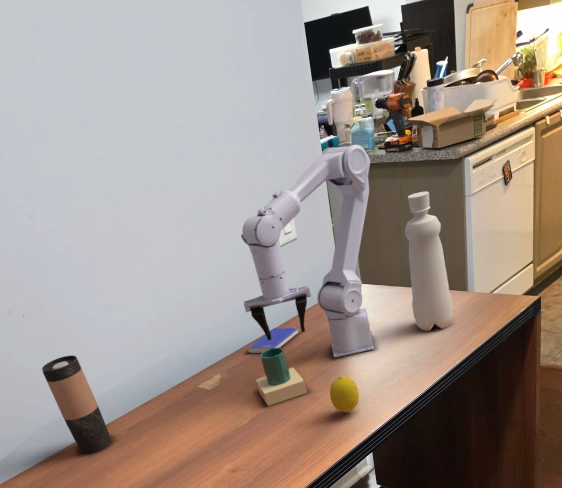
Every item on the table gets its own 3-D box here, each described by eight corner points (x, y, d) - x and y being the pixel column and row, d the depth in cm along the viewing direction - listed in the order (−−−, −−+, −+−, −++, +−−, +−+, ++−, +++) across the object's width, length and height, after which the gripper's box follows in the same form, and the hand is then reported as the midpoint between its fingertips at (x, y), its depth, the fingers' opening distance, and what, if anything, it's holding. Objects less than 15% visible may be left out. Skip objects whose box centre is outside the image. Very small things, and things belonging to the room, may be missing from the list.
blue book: (272, 347, 165) (297, 327, 173) (247, 347, 170) (272, 328, 178) (273, 353, 166) (298, 333, 174) (248, 352, 171) (274, 333, 179)
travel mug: (118, 435, 146) (84, 353, 136) (100, 454, 140) (62, 369, 130) (91, 437, 149) (55, 356, 139) (72, 455, 143) (33, 372, 133)
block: (296, 379, 149) (293, 367, 147) (306, 393, 141) (303, 380, 139) (258, 391, 148) (255, 379, 146) (267, 406, 140) (264, 393, 139)
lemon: (365, 405, 129) (358, 369, 125) (356, 419, 125) (349, 382, 121) (340, 406, 132) (332, 370, 128) (330, 419, 128) (322, 383, 124)
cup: (290, 372, 145) (283, 345, 142) (290, 382, 140) (283, 354, 137) (268, 377, 145) (260, 351, 142) (267, 387, 141) (259, 360, 138)
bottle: (414, 321, 161) (397, 195, 146) (452, 314, 159) (438, 186, 144) (416, 335, 154) (397, 203, 139) (455, 328, 151) (441, 193, 136)
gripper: (237, 288, 135) (254, 348, 142) (305, 271, 134) (319, 333, 140) (239, 279, 141) (255, 337, 148) (304, 262, 140) (317, 322, 146)
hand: (286, 334), depth 145 cm, fingers open, 7 cm apart
